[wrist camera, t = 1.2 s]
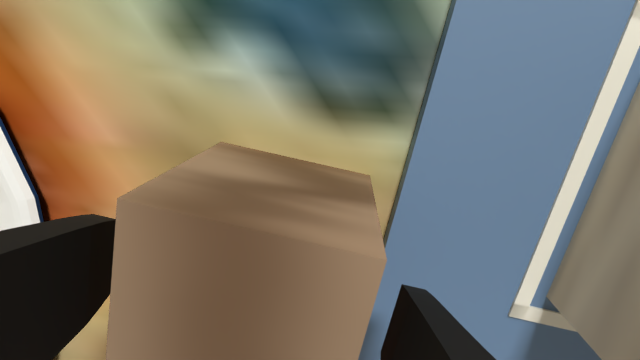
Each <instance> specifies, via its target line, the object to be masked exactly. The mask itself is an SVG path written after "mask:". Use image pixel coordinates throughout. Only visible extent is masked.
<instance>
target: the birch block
mask: <svg viewBox="0 0 640 360" xmlns="http://www.w3.org/2000/svg"><path fill="white" fill-rule="evenodd" d="M546 297H547V298H548V299H549V300H550V301H551V303H552V304H553V305H554V306H555V307H556V308H557V309H558V311H559V312H560V313H561V314H562V315H563V316H564V317H565V318H566V320H567V321H568V322H569V323H570V324H571V325H572V326H573V328H574V329H575V330H576V331H577V332H578V333H579V334H580V336H581V337H582V338H583V339H584V340H585V341H586V342H587V343H588V345H589V346H590V347H591V348H592V349H593V350H594V351H595V353H596V354H597V355H598V356H599V357H600V358H601V359H602V360H640V82H639V84H638V86H637V88H636V91H635V93H634V95H633V98H632V100H631V102H630V105H629V107H628V109H627V111H626V114H625V116H624V118H623V121H622V123H621V125H620V128H619V130H618V132H617V135H616V137H615V139H614V141H613V144H612V146H611V148H610V151H609V153H608V155H607V158H606V160H605V162H604V165H603V167H602V169H601V171H600V174H599V176H598V178H597V181H596V183H595V185H594V188H593V190H592V192H591V194H590V197H589V199H588V201H587V204H586V206H585V208H584V211H583V213H582V215H581V218H580V220H579V222H578V224H577V227H576V229H575V231H574V234H573V236H572V238H571V241H570V243H569V245H568V248H567V250H566V252H565V254H564V257H563V259H562V261H561V264H560V266H559V268H558V271H557V273H556V275H555V278H554V280H553V282H552V284H551V287H550V289H549V291H548V294H547V296H546Z"/></svg>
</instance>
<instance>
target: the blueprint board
mask: <svg viewBox="0 0 640 360" xmlns="http://www.w3.org/2000/svg"><path fill="white" fill-rule="evenodd" d="M639 82H640V0H452V2H451V5H450V9H449V13H448V16H447V20H446V23H445V27H444V30H443V34H442V37H441V41H440V44H439V48H438V51H437V55H436V58H435V62H434V65H433V69H432V72H431V76H430V79H429V83H428V86H427V90H426V93H425V97H424V100H423V104H422V107H421V111H420V114H419V118H418V121H417V125H416V128H415V132H414V135H413V139H412V142H411V146H410V149H409V153H408V156H407V160H406V163H405V167H404V170H403V174H402V177H401V181H400V184H399V188H398V191H397V195H396V198H395V202H394V205H393V209H392V212H391V216H390V219H389V223H388V226H387V230H386V233H385V237H384V240H383V243H384V248H385V253H386V258H387V262H386V265H385V269H384V272H383V276H382V279H381V283H380V286H379V289H378V293H377V296H376V300H375V303H374V307H373V310H372V313H371V317H370V320H369V324H368V327H367V331H366V334H365V337H364V341H363V344H362V348H361V351H360V355H359V358H358V360H381V349H382V346H383V343H384V339H385V336H386V333H387V330H388V327H389V323H390V320H391V317H392V314H393V311H394V307H395V304H396V301H397V298H398V294H399V291H400V288H401V285H402V284H403V285H408V286H412V287H417V288H421V289H425V290H427V291H428V292H429V293H431V294H432V295H433V296H434V297H435V298H436V299H437V300H438V301H439V302H440V303H441V304H442V305H443V306H444V307H445V308H446V309H447V310H448V311H449V312H450V313H451V314H452V316H453V317H454V318H455V319H456V320H457V321H458V322H459V323H460V324H461V325H462V326H463V327H464V328H465V329H466V330H467V331H468V332H469V333H470V334H471V335H472V336H473V337H474V338H475V339H476V340H477V341H478V342H479V343H480V344H481V345H482V346H483V347H484V348H485V349H486V350H487V351H488V352H489V353H490V354H491V355H492V356H493V357H494V358H495V359H496V360H602V359H601V358H600V357H599V356H598V355H597V354H596V353H595V351H594V350H593V349H592V348H591V347H590V346H589V345H588V343H587V342H586V341H585V340H584V339H583V338H582V337H581V336H580V334H579V333H578V332H577V331H576V330H575V329H574V328H573V326H572V325H571V324H570V323H569V322H568V321H567V320H566V318H565V317H564V316H563V315H562V314H561V313H560V312H559V311H558V309H557V308H556V307H555V306H554V305H553V304H552V303H551V301H550V300H549V299H548V298H547V297H546V296H547V294H548V291H549V289H550V287H551V284H552V282H553V280H554V278H555V275H556V273H557V271H558V268H559V266H560V264H561V261H562V259H563V257H564V254H565V252H566V250H567V248H568V245H569V243H570V241H571V238H572V236H573V234H574V231H575V229H576V227H577V224H578V222H579V220H580V218H581V215H582V213H583V211H584V208H585V206H586V204H587V201H588V199H589V197H590V194H591V192H592V190H593V188H594V185H595V183H596V181H597V178H598V176H599V174H600V171H601V169H602V167H603V165H604V162H605V160H606V158H607V155H608V153H609V151H610V148H611V146H612V144H613V141H614V139H615V137H616V135H617V132H618V130H619V128H620V125H621V123H622V121H623V118H624V116H625V114H626V111H627V109H628V107H629V105H630V102H631V100H632V98H633V95H634V93H635V91H636V88H637V86H638V84H639Z"/></svg>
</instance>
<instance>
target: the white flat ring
mask: <svg viewBox="0 0 640 360" xmlns="http://www.w3.org/2000/svg"><path fill="white" fill-rule="evenodd" d="M41 222H44V221H43V216H42V211H41V207H40V202H39V197H38V195H37V193H36V191H35V189H34V186H33V184H32V182H31V180H30V178H29V176H28V174H27V172H26V170H25V168H24V166H23V164H22V161H21V159H20V157H19V155H18V153H17V151H16V149H15V147H14V145H13V143H12V141H11V139H10V137H9V134H8V132H7V130H6V128H5V126H4V124H3V122H2V120H1V118H0V231H1V230H6V229H11V228H16V227H21V226H26V225H31V224H36V223H41Z"/></svg>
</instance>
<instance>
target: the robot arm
mask: <svg viewBox="0 0 640 360" xmlns="http://www.w3.org/2000/svg"><path fill="white" fill-rule="evenodd" d="M115 223H116V219H112V218H108V217H103V216H99V215H95V214H90V215H80V216H73V217H67V218H61V219H56V220H51V221H46V222H41V223H36V224H31V225H26V226H21V227H16V228H11V229H6V230H1V231H0V360H52V359H53V358H54V357H55V356H56V355H57V354H58V353H59V352H60V351H61V350H62V349H63V348H64V347H65V346H66V345H67V344H68V343H69V342H70V341H71V340H72V339H73V338H74V337H75V336H76V335H77V334H78V333H79V332H80V331H81V330H82V329H83V328H84V327H85V326H86V324H87V323H88V322H89V321H90V319H91V318H92V317H93V316H94V314H95V313H96V312H97V311H98V309H99V308H100V307H101V305H102V304H103V303H104V301H105V300H106V299H107V297H108V296H109V295H110V293H111V279H112V265H113V251H114V237H115ZM381 360H496V359H495V358H494V357H493V356H492V355H491V354H490V353H489V352H488V351H487V350H486V349H485V348H484V347H483V346H482V345H481V344H480V343H479V342H478V341H477V340H476V339H475V338H474V337H473V336H472V335H471V334H470V333H469V332H468V331H467V330H466V329H465V328H464V327H463V326H462V325H461V324H460V323H459V322H458V321H457V320H456V319H455V318H454V317H453V316H452V314H451V313H450V312H449V311H448V310H447V309H446V308H445V307H444V306H443V305H442V304H441V303H440V302H439V301H438V300H437V299H436V298H435V297H434V296H433V295H432V294H431V293H429V292H428V291H427V290H425V289H421V288H417V287H412V286H408V285H403V284H402V285H401V288H400V291H399V294H398V298H397V301H396V304H395V307H394V311H393V314H392V317H391V320H390V323H389V327H388V330H387V333H386V336H385V339H384V343H383V346H382V349H381Z"/></svg>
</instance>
